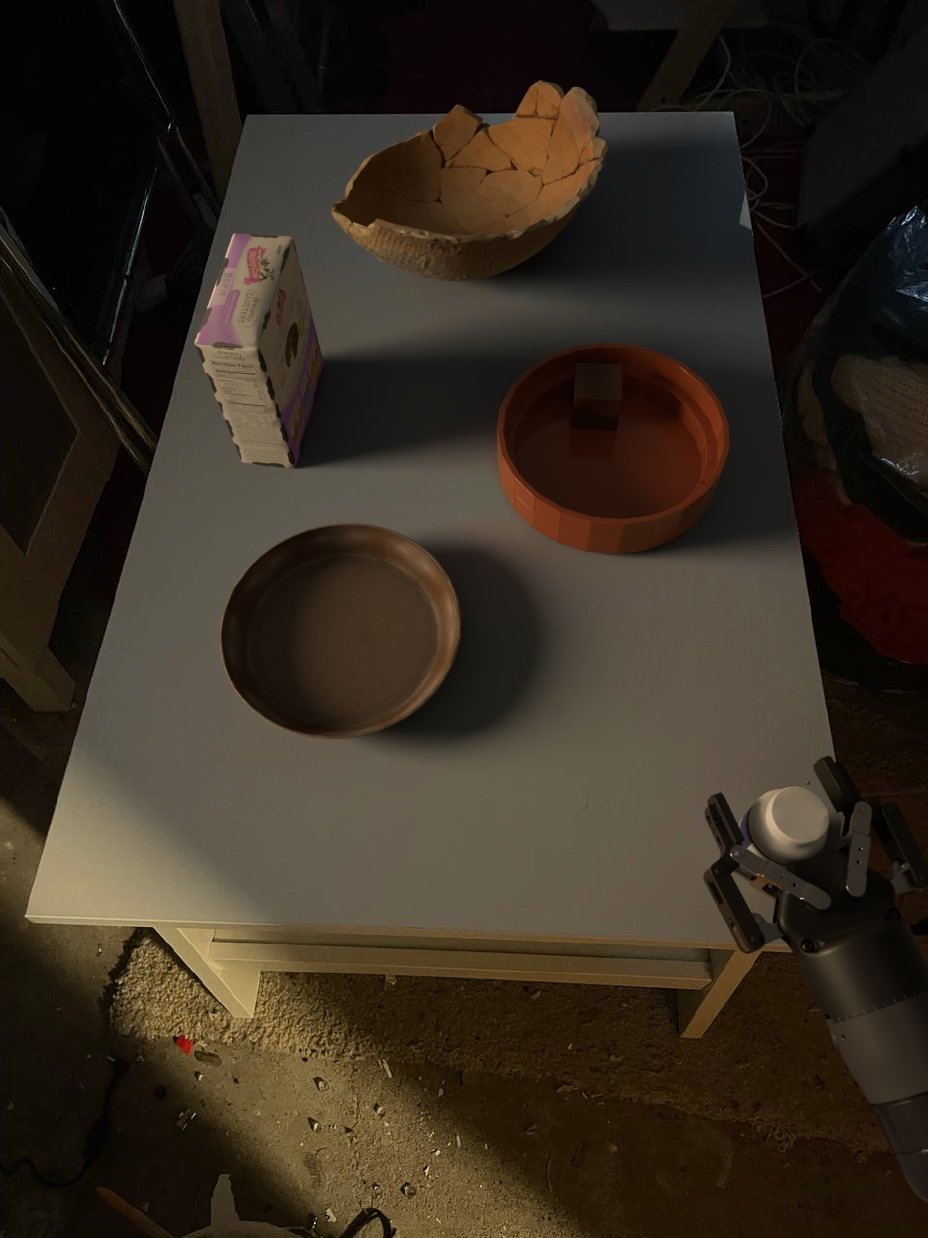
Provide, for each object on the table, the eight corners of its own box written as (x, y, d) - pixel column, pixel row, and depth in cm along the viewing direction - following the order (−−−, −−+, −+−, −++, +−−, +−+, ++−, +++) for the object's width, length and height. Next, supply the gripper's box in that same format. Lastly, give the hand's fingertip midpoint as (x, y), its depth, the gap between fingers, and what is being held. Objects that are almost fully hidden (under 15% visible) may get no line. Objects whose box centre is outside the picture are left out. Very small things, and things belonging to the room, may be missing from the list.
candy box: (272, 360, 95) (232, 228, 80) (326, 365, 94) (295, 233, 80) (239, 464, 88) (189, 341, 74) (297, 470, 88) (258, 347, 73)
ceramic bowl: (386, 125, 110) (394, 1, 96) (595, 193, 110) (632, 79, 96) (301, 301, 97) (295, 186, 84) (537, 377, 98) (570, 275, 84)
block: (616, 395, 90) (622, 363, 86) (616, 430, 88) (622, 399, 84) (571, 394, 91) (575, 362, 87) (571, 428, 88) (574, 397, 84)
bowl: (714, 389, 91) (727, 350, 86) (717, 566, 81) (732, 533, 76) (508, 375, 93) (509, 336, 88) (486, 547, 83) (486, 513, 78)
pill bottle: (749, 801, 71) (784, 760, 62) (811, 841, 69) (855, 805, 61) (715, 855, 69) (746, 821, 61) (777, 898, 67) (818, 869, 59)
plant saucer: (510, 625, 79) (510, 608, 76) (349, 801, 72) (343, 788, 69) (342, 505, 86) (337, 484, 83) (181, 654, 79) (169, 638, 76)
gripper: (1012, 964, 55) (874, 729, 62) (802, 1045, 53) (686, 793, 60) (956, 978, 61) (837, 764, 69) (768, 1050, 60) (667, 823, 67)
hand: (767, 778), depth 64 cm, fingers open, 8 cm apart
